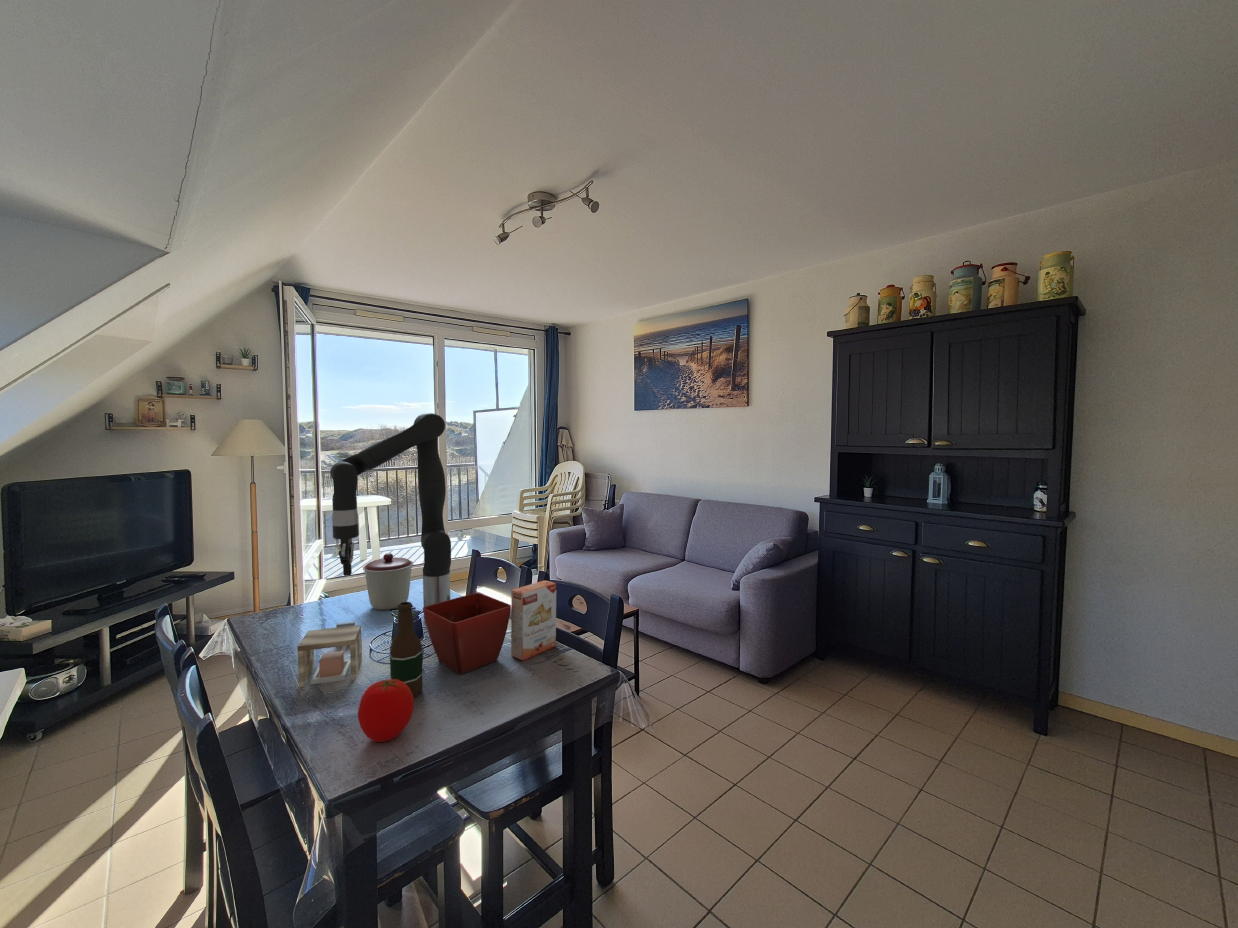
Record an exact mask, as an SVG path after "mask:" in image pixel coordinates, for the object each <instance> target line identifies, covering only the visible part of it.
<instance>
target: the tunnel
mask: <svg viewBox="0 0 1238 928" xmlns="http://www.w3.org/2000/svg"><path fill="white" fill-rule="evenodd" d="M362 643H363V642H362V625H361V624H355V626H346V627H337V628H336V627H329V628H319V629H313V630H307V632H306V633H305V635H304V637H302V639H301V640H300V642H299V643H298V645H297V646H296V647H297V671H298V673H297V674H298V675H297V676H298V688H302V687H303V688H304V687H305V686H306V684H307V682H308V680H309V679H310V677H311V675H312V673H313V671H314V669H315V650H322V649H331V648H338V647H343V646H347V647H348V646H349V649H350V650H349V653H350V654H349V655H350V658H349V660H350V661H351V666H350V680H355V679H357V677H358V674H359V672H360V668H361V666H362V663H363V647H362V646H363V644H362Z"/></svg>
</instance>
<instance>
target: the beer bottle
mask: <svg viewBox="0 0 1238 928" xmlns="http://www.w3.org/2000/svg"><path fill="white" fill-rule="evenodd" d="M413 607H414V606H413V604H412V602H411V601H407V602H402V603H400V604H398V606H397V608H396V609H397V610H398V611H397V612H398V613H397V615H398V616H397V630H396V634H395V636H394V638H393V639H392V640H391V644H390V647H389V666H390V667H389V672H390V676H389V677H390V678H389V679H397V680H400V681H402V682H404V683H405V684H406V685H407V686H408V687H409V688H410V690H411V692H412V695H413V698H416V697H417V696H418V695H419V694H421V692H422V691H423V651H422V650H423V649H422V643H421V640H420V637H418V635H417V634H416V633H415V629H414V622H413V612H412V611H413V609H412V608H413Z"/></svg>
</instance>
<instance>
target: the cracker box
mask: <svg viewBox="0 0 1238 928" xmlns="http://www.w3.org/2000/svg"><path fill="white" fill-rule="evenodd" d="M510 592H511V593H510V594H511V596H510V597H511V601H510V602H511V603H510V605H511V610H510V615H511V616H510V617H511V619H510V620H511V621H510V622H511V624H510V625H511V627H510V628H511V629H510V630H511V632H510V634H511V636H510V638H511V639H510V640H511V641H510V644H511V646H510V649H511V651H510V652H511V653H510V654H511V657H512V658H513V657H514V658H516V659H518V660H520V661H523V662H524V661H527V660H528V659H530V658H533V657H535V656H537V655H539V654H541V653H543V652H546V651H549V650H550V649H553V648H555V647H556V646H557V645H556V644H557V642H556V641H557V640H556V637H557V583H555V582H552V581H550V580H549V581H548V580H542V581H537V582H535V583H529V584H528V585H524V586H521V587H517V588H514V589H511V591H510Z"/></svg>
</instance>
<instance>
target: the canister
mask: <svg viewBox="0 0 1238 928" xmlns="http://www.w3.org/2000/svg"><path fill="white" fill-rule="evenodd" d="M413 565H414V562H413V560H410V559H408V558H406V557H394V555H393V553H390V552H388V553H384V554H383V557H382V558H378V559H375V560H374V559H373V560H372V561H369V562H368V563H366V564H365V565H363V566H362V569H363V571H364V574H365V575H364V576H365V581H366V582H365V583H366V589H367V595H368V600H369V604H370V606H371V607H372V608H373V609H374V610H378V611H387V610H388V611H389V610H394V609H395V610H396V609H398V608H397V606H398V604H400V603H402V602H408V600H409V595H410V587H411V578H412V566H413Z"/></svg>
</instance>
